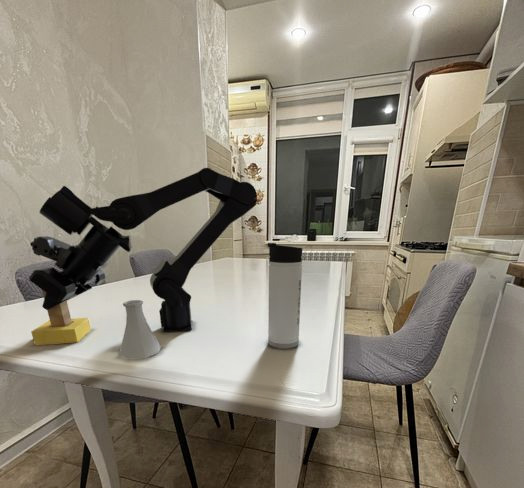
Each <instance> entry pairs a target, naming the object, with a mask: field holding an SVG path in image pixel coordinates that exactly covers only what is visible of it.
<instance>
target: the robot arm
mask: <svg viewBox="0 0 524 488" xmlns="http://www.w3.org/2000/svg"><path fill="white" fill-rule="evenodd" d="M202 192H205V193H208V194H209V195H210V196H212V197H214V198H216V199H217V200H218V201H219V202H218V204H217V207H216V210H215V211H214V213H212V215H211V216H210V217H209V218H208V220H207V221H206V222H205V223H204V224H203V225H202V226H201V228H199V230H198V231H197V232H196V233H195V234H194V236H192V238H191V239H190V240H189V241H188V242H187V244H186V245H185V246H184V247H182V249H181V251H179V252H178V254H177V255H176V256H175V257H173V258H172V259H170V260H169V261H168V260H167V259H165V258H164V257H163V258H161V260H160V261H159V263H158V265H157V266H156V267H155V268H153V269H151V270H150V271H151V273H152V274H151V276H150V279H149V283H150V284H149V285H150V287H151V289H152V291H153V293H154V295H156V296H157V298H159V299H161V300H162V301H161V303H160V309H159V311H158V313H159V321H160V327H161V328H162V332H163V333H167V332H168V333H169V332H181V331H183V332H184V331H192V330H193V320H192V311H191V309H192V308H191V300H192V295H191V294H190V293H189V292H187V290H186V289H184V288H183V287H184V285H185V283H186V282H187V279H188V276H189V274H190V271H192V269H193V267H194V266H195V265H196V264H198V262H199V261H200V259H201V258H202V257H203V256H204V255H205V254H206V253H207V252H208V251H209V249H210V248H211V247H212V245H214V243H215V242H216V241H217V240H219V239H218V238H220V236H221V235H222V234H223V233H224V232H225V231H226V229H227V228H228V227H229V226H230V225H232V223H234V222H235V221H237V220H238V219H240V218H242V217H243V216H244V215H247V213H248V212H249V211H251V210H252V209H254V208H255V206H256V205H257V203H258V193H257V189H256V188H255V186H254V185H253V184H252V183H250V182H248V181H241V182H240V181H239V180H237V179H235V178H233V177H230V176H227V175H224V174H222V173H219V172H218V171H215V170H214V169H213V168H210V167H204V168H202V169H200V170H198V171H197V172H195V173H193V174H190V175H188V176H186V177H184V178H183V177H182V178H181V179H178V180H175V181H174V182H171V183H169V184H167V185H164V186H162V187H160V188H157V189H155V190H152V191H150V192H145V193H138V194H132V195H127V196H123V197H118V198H115V199H113V200H112V201H111V202H110V203H109V205H105V206H97V205H96V206H95V207H91V206H90V205H88V204H87V203H86V202H85V201H83V200H82V199H81V198H79V196H77V195H76V194H75V193H74V191H72V190H71V189H70V188H69V187H68V186H66V185H63V186H62V187H61V188H60V189H59V190H58V191H56V192H55V193H54V194H53V195H52V196H51V197H50V196H49V197H48V198H47V199H46V200H45V202H44V203H43V204H42V206H41V207H40V209H39V214H40V215H41V216H42V217H44V218H46V220H48V221H50V222H51V223H52V224H54V225H55V226H57V227H58V228H60V229H61V230H62V231H64V232H65V233H67V234H68V235H69V236H72V235H74V234H77V235H78V236H81V235H82V234H83V233H84V232H85V231H86V229H87V228H88V227H89V226H90V225H92V226H91V228H89V230H88V232H87V233H86V234H85V235H84V237H83V238H82V239H81V240H80V241H79V243H78V244H76V245H71V244H69V243H67V242H64V241H62V240H59V239H57V238H54V237H51V236H45V235H43V236H41V235H40V236H36V237H34V238H33V241H31V242H30V247H31V249H32V251H33V254H34V255H35V256H39V257H40V256H41V257H44V258H47V259H49V260H52V261H55V263H54V266H56V267H57V268H58V269H61V271H59V270H57V269H56V268H55V267H42V268H38V269H34V270H33V271H32V273H31V274H30V275H29V277H28V280H29V282H31V283H32V284H33V285H35V286H37V287H38V288H39V289H40V290H41V291H42V290H43V291H45V292H46V295H45V299H44V298H43V301H42V308H43V309H44V310H46V311H47V310H49V309H51V308H53V307H55V306H57V305H58V304H60V303H62V302H64V301H66V300H67V301H69V300H71V299H73V298H75V297H78V296H80V295H81V294H84V293H86V292H87V291H90V290H92V289H93V287H92V285H90V283H93V282H94V283H93V284H94V286H96V287H97V286H99V285H101V284H102V283H103V282H104V281H105V280H106V273H105V272H104V271H103V270H102V269H105V268H106V267H108V265H109V263H108V261H109V260H110V259H111V258H112V257H113V256H114V254H115V253H116V252H117V251H118V250H119V248H121V249H123V250H124V251H125V252H128V253H130V252H131V250H132V248H133V245H132V243H131V236H130V235H123V234H121V233H120V232H119V231H118V230H117V229H116V228H114V227H113V226H110V227H108V226H106V225H104V223H102V222H108V223H110V222H111V223H112V224H113V225H114V226H115V227H117V228H118V229H120V230H125V231H130V230H134V229H136V228H137V227H138V226H140V225H141V224H142V223H144V222H146V221H147V220H148V219H150V218H151V217H152V216H153V215H155V214H156V213H158V212H159V211H162V210H164V209H166V208H168V207H171V206H173V205H175V204H177V203H179V202H182V201H184V200H186V199H188V198H191V197H192V196H196V195H198V194H199V193H202ZM93 216H94V217H93ZM98 220H100V221H102V222H100V221H98Z"/></svg>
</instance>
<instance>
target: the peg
mask: <svg viewBox="0 0 524 488" xmlns="http://www.w3.org/2000/svg"><path fill="white" fill-rule="evenodd" d="M41 292H42V297H43V300H44V299H45V295H46V292H45V291H43V290H42V289H41ZM46 311H47V315H48V318H49V320H50V323H51V326H52V327H65V326H69V325H70V324H71V323H72V321H71V319H72V317H71V312H70V309H69V304H68V300H66V301H64V302H62V303H60V304H58V305H57V306H55V307H53V308H51V309H49V310H46Z"/></svg>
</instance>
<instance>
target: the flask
mask: <svg viewBox="0 0 524 488" xmlns="http://www.w3.org/2000/svg"><path fill="white" fill-rule="evenodd" d="M143 304H144V301H143V300H140V299H131V300H126V301H123V302H122V306H123V307H124V308H125V313H126V318H125V319H126V320H125V328H124V333H123V338H122V342H121V345H120V350H119V355H118V356H119V357H122V358H124V359H128V360H136V359H137V360H138V359H147V358H149V357H152V356H153V355H156V354H158V353H160V352H159V351H160V350H161V348H162V346H161V344H160V343H159V341H158V339H157V337H156V335H155V333H154V332H153V331H152V329H151V326H150V325H149V324H148V321H147V319H146V316H145V313H144V311H143Z"/></svg>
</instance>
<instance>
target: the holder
mask: <svg viewBox="0 0 524 488" xmlns="http://www.w3.org/2000/svg"><path fill="white" fill-rule="evenodd" d="M71 321H72V323H71V324H70V325H69V326H65V327H52V326H51V323H50V319H49V320H47V321H46V322H44V323H43V324H41V325H39V326H38V327H36V328H35V329H33V330H31V332H30V333H31V336H32V340H33V343H34V345H35V346H43V345H57V344H58V345H60V344H72V343H79V342H80V341H81V340H82V339H83V338H84V337H85V336H86V335H87V334H89V333H90V331H91V330H92V327H91V324H90V319H89V317H79V318H78V317H77V318H71Z"/></svg>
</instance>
